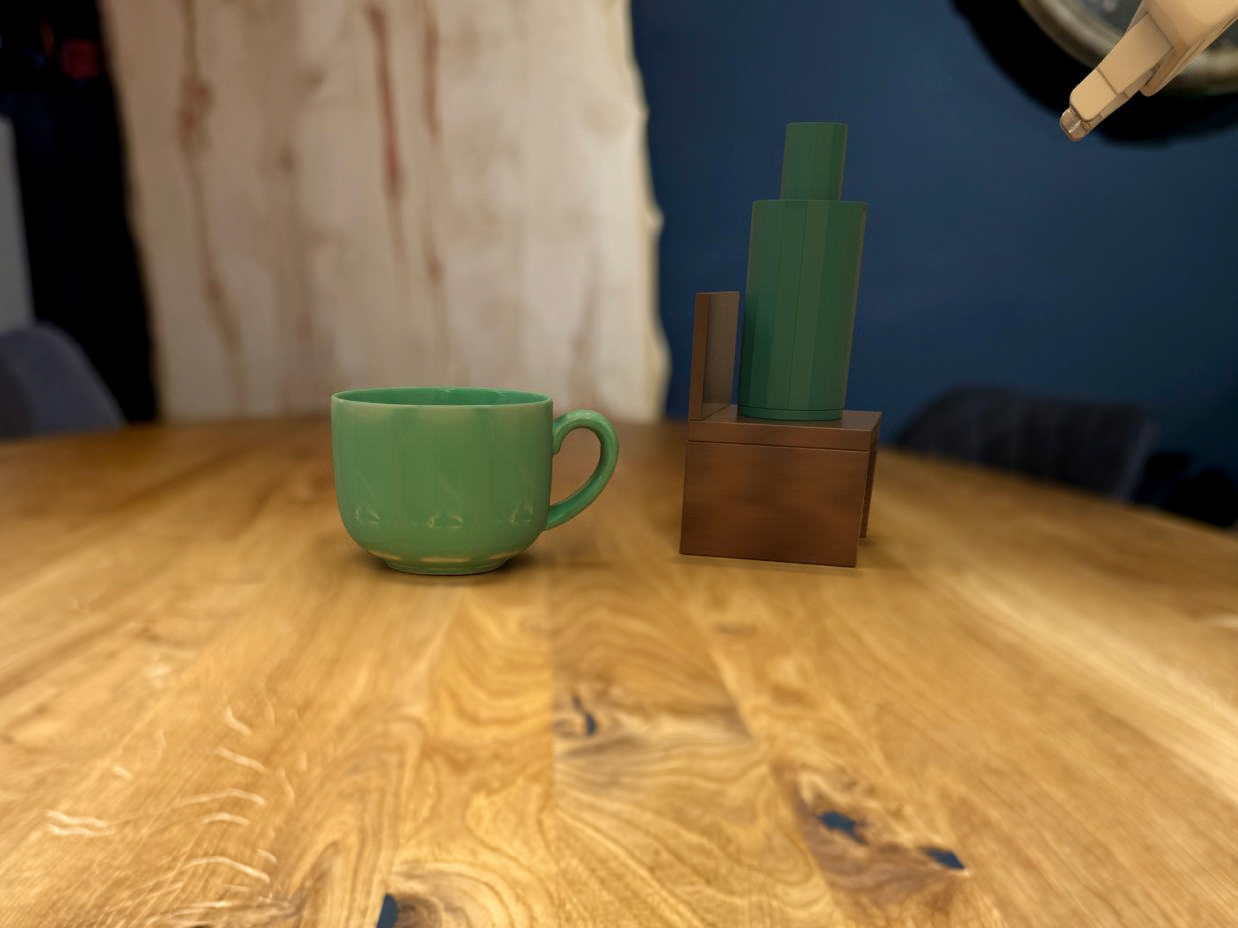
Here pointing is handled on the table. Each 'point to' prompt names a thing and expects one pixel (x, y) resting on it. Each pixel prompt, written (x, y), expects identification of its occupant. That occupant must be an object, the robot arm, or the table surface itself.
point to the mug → (455, 473)
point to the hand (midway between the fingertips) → (1070, 122)
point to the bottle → (802, 284)
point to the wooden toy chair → (768, 465)
